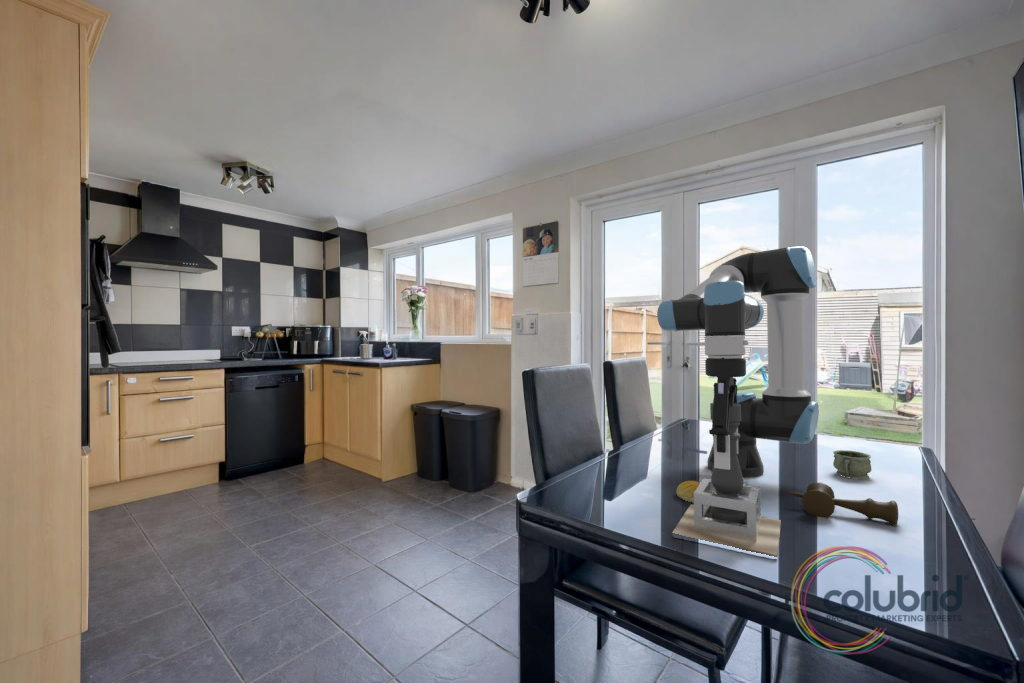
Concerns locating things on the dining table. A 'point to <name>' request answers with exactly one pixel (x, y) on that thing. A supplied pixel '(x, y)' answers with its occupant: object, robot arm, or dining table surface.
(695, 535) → the stand base
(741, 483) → the candle holder
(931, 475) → the dining table surface
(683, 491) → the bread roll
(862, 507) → the kendama
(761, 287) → the robot arm
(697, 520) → the grey cinder block
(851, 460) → the vessel
